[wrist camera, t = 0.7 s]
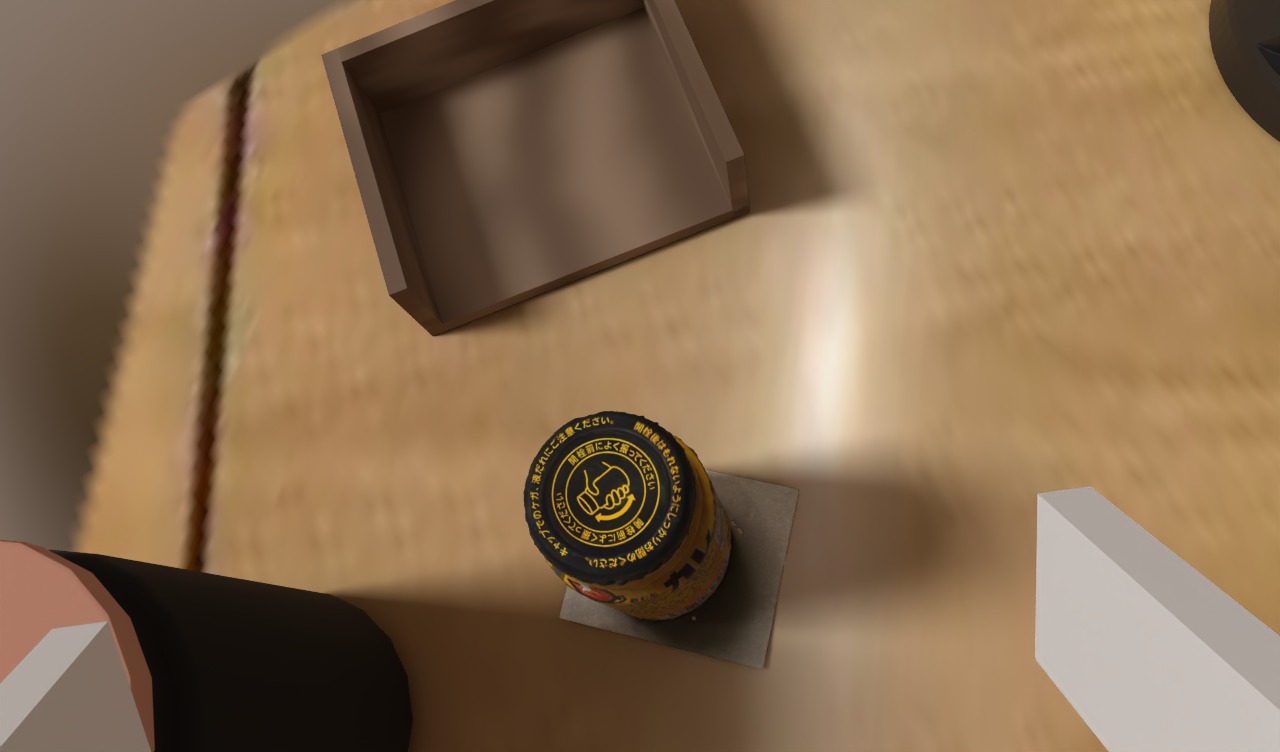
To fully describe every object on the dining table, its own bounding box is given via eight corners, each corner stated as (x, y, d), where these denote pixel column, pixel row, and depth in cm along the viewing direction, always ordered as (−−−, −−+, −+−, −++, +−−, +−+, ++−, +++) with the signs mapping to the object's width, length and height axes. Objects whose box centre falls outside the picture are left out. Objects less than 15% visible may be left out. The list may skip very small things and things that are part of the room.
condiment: (603, 449, 41) (530, 362, 29) (799, 490, 39) (800, 414, 28) (560, 618, 39) (463, 595, 28) (763, 670, 37) (748, 668, 26)
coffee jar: (169, 872, 38) (-329, 1030, 21) (193, 601, 41) (-222, 551, 25) (422, 863, 37) (105, 1024, 20) (426, 584, 40) (157, 518, 23)
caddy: (655, 0, 47) (640, -75, 42) (749, 211, 43) (744, 154, 38) (367, 116, 48) (321, 54, 43) (432, 336, 44) (388, 295, 39)
